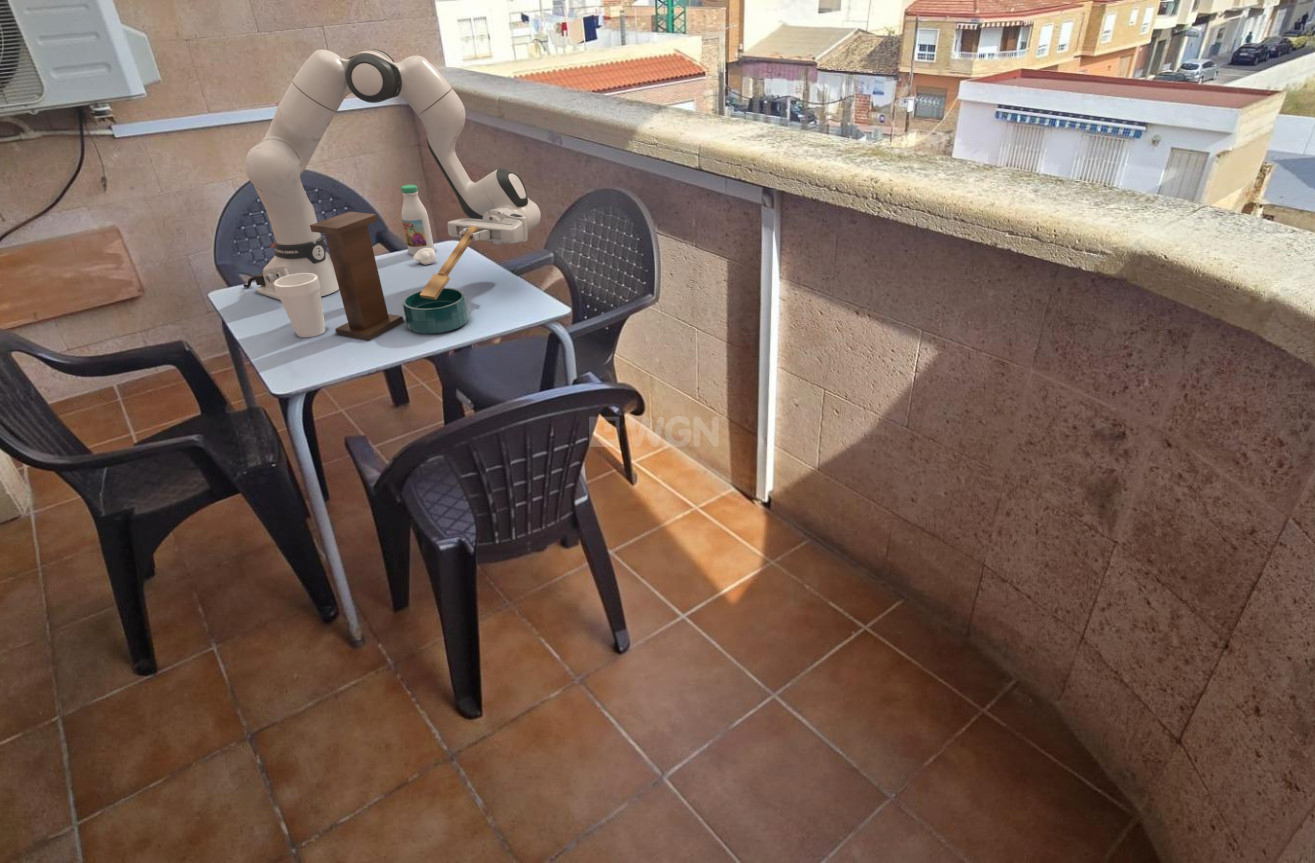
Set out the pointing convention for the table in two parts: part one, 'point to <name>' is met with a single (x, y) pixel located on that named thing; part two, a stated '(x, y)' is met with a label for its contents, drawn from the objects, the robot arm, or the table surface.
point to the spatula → (447, 268)
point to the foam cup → (302, 302)
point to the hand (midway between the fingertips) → (467, 236)
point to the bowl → (436, 312)
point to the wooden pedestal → (357, 275)
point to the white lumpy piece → (425, 256)
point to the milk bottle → (415, 221)
